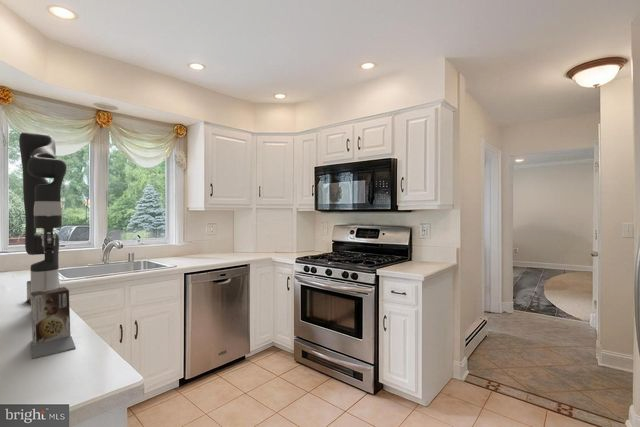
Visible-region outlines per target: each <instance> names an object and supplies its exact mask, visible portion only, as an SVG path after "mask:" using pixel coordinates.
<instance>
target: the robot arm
mask: <svg viewBox="0 0 640 427" xmlns="http://www.w3.org/2000/svg"><path fill="white" fill-rule="evenodd" d="M18 142H19V143H18V144H19V151H20V160H21V166H22V167H21V168H22V189H23V190H22V191H23V192H22V193H23V206H24V215H25V227H24V228H25V229H24V230H25V235H24V247H25V252H26V254H28V255H29V256H35V255H36V256H37V255H40V256H41V255H44V259H42V260H40V261H37V262H33V263H32V264H31V265H30V281H31V292H36V291H42V290H48V289H54V288H60V279H59V278H60V277H59V276H60V273H59V269H60V268H59V253H60V252H59V250H60V238H59V235H58V233H56V232H54V229H57V228H62V227H63V215H62V212H63V211H62V210H63V208H62V202H61V197H62V196H61V190H62V184H63V181H64V178H65V176H66V173H67V168H68V167H67V164H66V162H65V161H64V160H63V159H61V158H57V157H56V152H57V151H56V150H57V149H56V142H55V138H54V137H53V136H52V135H50V134H46V133H35V132H34V133H33V132H22V133H20V134H19V139H18ZM47 179H53V180H52V182H49V181H48V180H47ZM37 229H42V230H43V232H37ZM30 310H31V313H32V307H31V306H30Z"/></svg>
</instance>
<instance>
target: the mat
mask: <svg viewBox="0 0 640 427" xmlns="http://www.w3.org/2000/svg"><path fill="white" fill-rule="evenodd" d="M75 349H76V345H75V343H74V340H73V337H72V336H71V335H70V336H68V337H64V338H61V339H57V340H52V341H48V342H43V343H39V344H35V343H33V344H31V360H35V359H39V358H43V357H47V356H51V355H54V354H60V353H63V352H68V351H72V350H75Z"/></svg>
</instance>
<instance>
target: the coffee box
mask: <svg viewBox="0 0 640 427" xmlns="http://www.w3.org/2000/svg"><path fill="white" fill-rule="evenodd" d="M31 307H32V312H31V333H32V334H31V337H32V342H33V344H39V343H43V342H48V341H52V340H57V339H62V338H66V337H71V314H70V289H68V288H67V287H66V286H62V287H59V288H54V289H48V290H42V291H36V292H31V303H30V308H31Z"/></svg>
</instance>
